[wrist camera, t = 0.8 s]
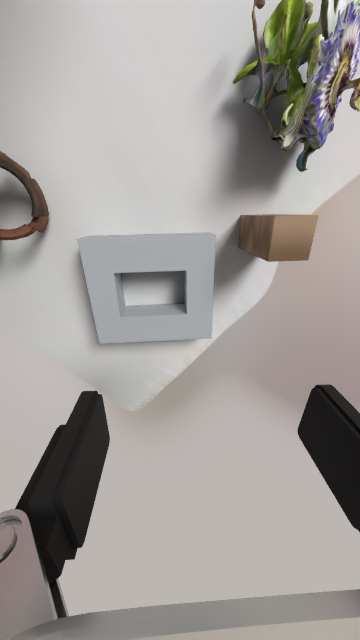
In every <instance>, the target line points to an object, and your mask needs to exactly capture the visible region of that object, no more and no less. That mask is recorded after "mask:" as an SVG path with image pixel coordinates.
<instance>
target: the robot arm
mask: <svg viewBox="0 0 360 640" xmlns="http://www.w3.org/2000/svg"><path fill="white" fill-rule="evenodd" d="M298 435H299V437H300V439H301V441H302V443H303V444H304V446H305V448H306V449H307V451H308V453H309V454H310V456H311V458H312V459H313V461H314V463H315V464H316V466H317V467H318V469H319V471H320V473H321V474H322V476H323V478H324V479H325V481H326V483H327V484H328V486H329V488H330V489H331V491H332V493H333V494H334V496H335V498H336V499H337V501H338V503H339V504H340V506H341V508H342V509H343V511H344V513H345V515H346V516H347V518H348V520H349V521H350V523H351V524H352V526H353V527H354V528H356V529H358V530H359V532H360V413H359V412H358V411H357V410H356V409H355V408H354V407H353V406H352V405H351V404H350V403H349V402H348V401H347V400H346V399H345V398H344V397H343V396H342V395H341V394H340V393H339V392H338V391H337V390H336V388H335V387H333V386H332V385H316V386H315V387H314V388H313V389H312V390H311V393H310V396H309V399H308V401H307V404H306V407H305V410H304V413H303V416H302V418H301V421H300V424H299V427H298ZM109 440H110V438H109V431H108V425H107V420H106V414H105V409H104V404H103V397H102V395H101V394H98V392H97V391H83V392H82V393H81V395H80V397H79V399H78V401H77V403H76V405H75V407H74V409H73V411H72V413H71V415H70V417H69V419H68V421H67V423H66V425H60V426H59V427H58V428H57V429H56V431H55V433H54V435H53V437H52V439H51V441H50V442H49V445H48V447H47V448H46V450H45V452H44V454H43V456H42V458H41V460H40V462H39V464H38V466H37V468H36V469H35V471H34V473H33V475H32V477H31V479H30V481H29V483H28V485H27V487H26V489H25V491H24V493H23V495H22V496H21V498H20V500H19V502H18V504H17V506H16V508H15V509H11V510H8V511H4V512H2V513H0V640H360V589H358V590H344V591H332V592H331V591H330V592H317V593H306V594H292V595H279V596H267V597H255V598H243V599H230V600H218V601H206V602H194V603H184V604H171V605H160V606H148V607H138V608H129V609H120V610H111V611H102V612H93V613H86V614H81V615H75V616H70V617H69V615H68V611H67V608H66V604H65V601H64V598H63V594H62V591H61V587H60V584H59V581H58V578H59V576H60V575H61V573H62V570H63V566H64V563H65V560H71V559H75V555H76V552H77V548H81V547H82V546H83V543H84V541H85V537H86V533H87V529H88V525H89V521H90V517H91V513H92V509H93V505H94V501H95V497H96V494H97V489H98V486H99V482H100V478H101V474H102V470H103V466H104V462H105V458H106V454H107V450H108V446H109Z"/></svg>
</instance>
